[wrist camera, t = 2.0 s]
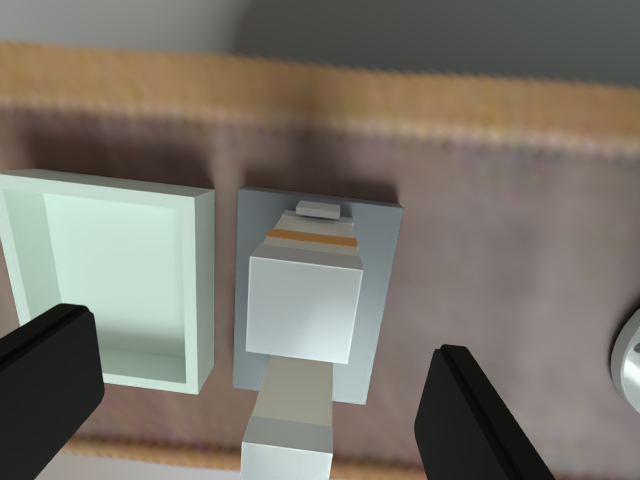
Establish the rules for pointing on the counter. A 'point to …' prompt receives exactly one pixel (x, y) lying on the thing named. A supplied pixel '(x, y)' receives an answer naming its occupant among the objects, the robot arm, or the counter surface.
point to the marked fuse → (304, 289)
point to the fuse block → (377, 260)
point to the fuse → (291, 422)
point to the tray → (118, 268)
